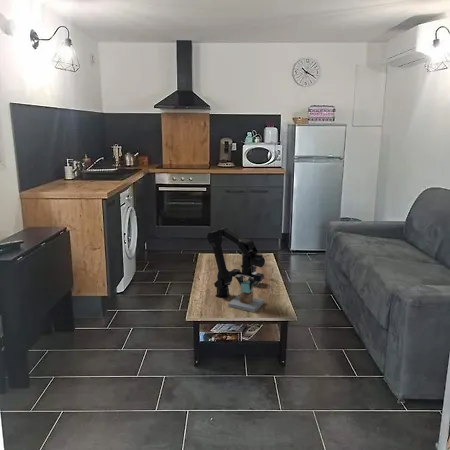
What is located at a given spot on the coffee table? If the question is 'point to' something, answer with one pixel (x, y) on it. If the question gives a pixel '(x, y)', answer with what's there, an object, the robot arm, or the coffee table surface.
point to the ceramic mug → (255, 281)
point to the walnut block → (246, 297)
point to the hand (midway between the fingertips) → (246, 289)
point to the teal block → (245, 286)
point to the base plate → (247, 307)
